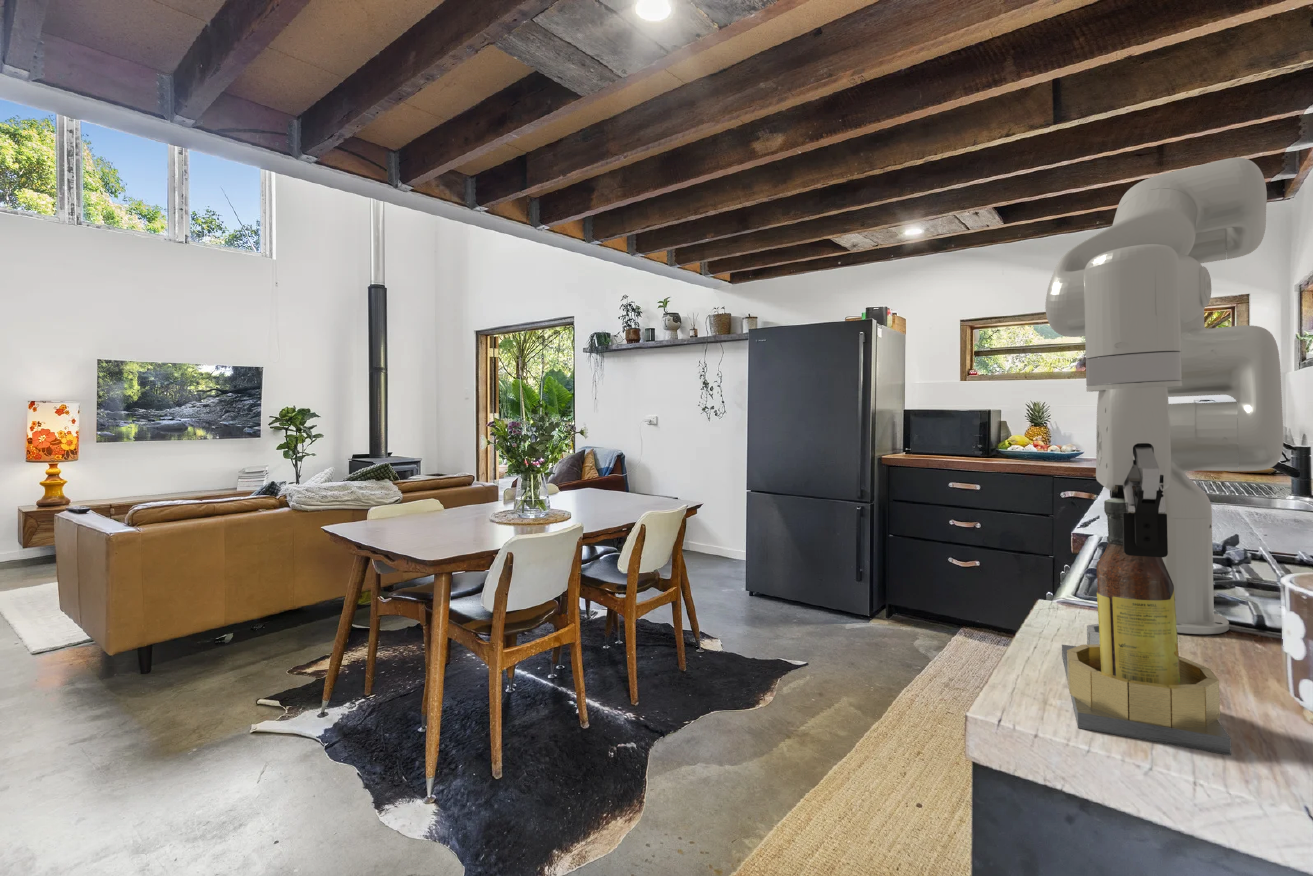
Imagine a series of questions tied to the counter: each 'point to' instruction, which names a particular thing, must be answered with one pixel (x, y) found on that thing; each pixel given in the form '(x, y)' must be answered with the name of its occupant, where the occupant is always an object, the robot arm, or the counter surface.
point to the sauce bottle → (1135, 610)
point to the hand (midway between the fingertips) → (1136, 545)
